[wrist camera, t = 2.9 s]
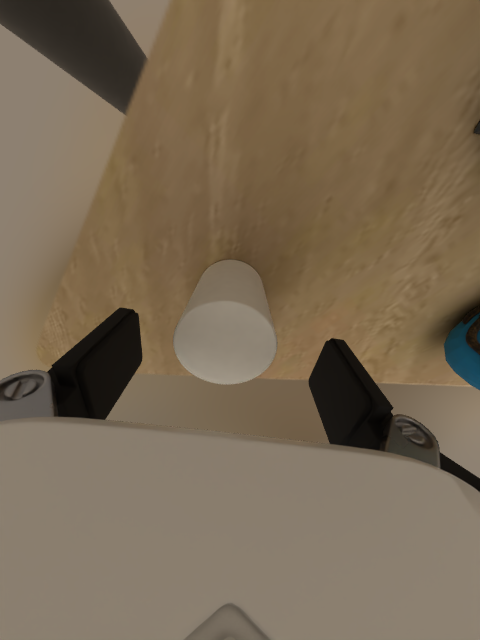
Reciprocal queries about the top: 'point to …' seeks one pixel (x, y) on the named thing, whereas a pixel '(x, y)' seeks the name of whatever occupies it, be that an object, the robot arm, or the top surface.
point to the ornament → (465, 348)
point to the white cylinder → (226, 326)
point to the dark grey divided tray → (477, 129)
